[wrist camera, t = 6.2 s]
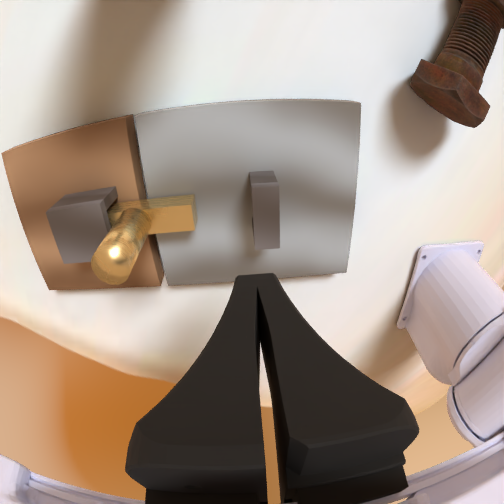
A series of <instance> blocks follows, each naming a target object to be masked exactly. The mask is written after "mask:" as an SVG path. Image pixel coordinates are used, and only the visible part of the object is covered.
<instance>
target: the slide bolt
mask: <svg viewBox="0 0 504 504" xmlns="http://www.w3.org/2000/svg"><path fill="white" fill-rule="evenodd" d="M106 211H107V214H108V218H109V222H110V225H111V229H110V231H109V232H108V233H107V235H106V236H105V238H104V239H103V241H102V242H101V244H100V245H99V247H98V248H97V250H96V251H95V253H94V255H93V256H92V259H91V267H92V270H93V272H94V274H95V275H96V276H97V277H98V278H99V279H100V280H102V281H103V282H105V283H108V284H111V285H119V284H122V283H124V282H125V281H126V280H127V279H128V277H129V275H130V273H131V271H132V268H133V266H134V264H135V262H136V259H137V257H138V255H139V253H140V251H141V248H142V246H143V244H144V242H145V240H146V238H147V236H148V234H158V233H170V232H181V231H194V230H195V228H196V224H197V219H198V216H197V209H196V202H195V195H194V194H191V195H181V196H171V197H162V198H153V199H144V200H136V201H128V202H120V203H113V204H111V206H110V207H109V208H108V209H107V210H106Z"/></svg>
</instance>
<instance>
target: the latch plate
mask: <svg viewBox="0 0 504 504" xmlns="http://www.w3.org/2000/svg"><path fill="white" fill-rule="evenodd" d="M360 119H361V103H359V102H355V101H348V100H327V99H265V100H244V101H230V102H218V103H207V104H198V105H189V106H182V107H174V108H167V109H161V110H155V111H149V112H143V113H140V114H138V115H135V122H136V129H137V136H138V143H139V149H140V155H141V161H142V167H143V173H144V178H145V184H146V189H147V194H148V199H153V198H162V197H171V196H181V195H191V194H194V195H195V202H196V209H197V216H198V219H197V224H196V228H195V230H194V231H181V232H170V233H158V234H156V237H157V242H158V246H159V250H160V254H161V259H162V263H163V267H164V271H165V275H166V279H167V283H168V285H186V284H203V283H219V282H234V281H235V278H236V277H237V276H238V275H250V274H264V273H274V274H275V275H276V276H277V278H288V277H300V276H312V275H324V274H335V273H346V272H347V265H348V258H349V251H350V243H351V235H352V227H353V218H354V209H355V199H356V187H357V175H358V161H359V144H360ZM2 157H3V162H4V166H5V170H6V174H7V178H8V181H9V185H10V188H11V192H12V195H13V199H14V202H15V205H16V208H17V211H18V214H19V217H20V220H21V223H22V226H23V229H24V231H25V234H26V237H27V239H28V242H29V245H30V247H31V250H32V252H33V255H34V257H35V259H36V262H37V264H38V266H39V269H40V271H41V273H42V276H43V278H44V280H45V282H46V284H47V286H48V289H49V290H71V289H101V288H126V287H148V286H161V282H162V279H163V276H164V272H163V268H162V264H161V260H160V256H159V251H158V247H157V243H156V239H155V234H148V236H147V238H146V240H145V242H144V244H143V246H142V248H141V251H140V253H139V255H138V257H137V259H136V262H135V264H134V266H133V268H132V271H131V273H130V275H129V277H128V279H127V280H126V281H125V282H124V283H122V284H119V285H111V284H108V283H105V282H103V281H102V280H100V279H99V278H98V277H97V276H96V275H95V274H94V272H93V270H92V267H91V259H92V256H93V255H94V253H95V251H96V250H97V248H98V247H99V245H100V244H101V242H102V241H103V239H104V238H105V236H106V235H107V233H108V232H109V231H110V229H111V225H110V222H109V218H108V214H107V211H106V210H107V209H108V208H109V207H110V206H111V204H113V203H120V202H128V201H136V200H144V199H147V196H146V191H145V186H144V181H143V175H142V169H141V164H140V158H139V152H138V145H137V139H136V132H135V125H134V118H133V114H132V115H127V116H122V117H117V118H113V119H108V120H104V121H100V122H95V123H91V124H87V125H83V126H80V127H76V128H72V129H69V130H65V131H62V132H58V133H55V134H52V135H48V136H45V137H42V138H39V139H36V140H33V141H30V142H27V143H24V144H21V145H18V146H16V147H13V148H11V149H9V150H7V151H5V152H3V153H2Z"/></svg>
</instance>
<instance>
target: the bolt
mask: <svg viewBox="0 0 504 504" xmlns="http://www.w3.org/2000/svg"><path fill="white" fill-rule="evenodd" d="M459 1H460V3H461V4H462V6H461V8H460V11H459V14H458V16H457V18H456V21H455V23H454V25H453V27H452V30H451V31H450V34H449V37H448V39H447V41H446V44H445V45H444V47H443V50H442V52H441V53H440V54H439V55H438V57H437V59H436V61H435V63H431V62H428V61H425V60H422V59H421V61H420V63H419V65H418V67H417V69H416V71H415V73H414V75H413V77H412V80H411V83H410V86H411V87H412V89H413V90H414V92H415V93H416V94H417V95H418V96H419V97H420V98H422V99H423V100H424V101H425V102H426V103H427V104H428V105H430V106H431V107H433V108H434V109H435V110H437V111H438V112H440V113H441V114H443V115H444V116H446V117H447V118H449V119H451V120H452V121H454V122H457V123H459V124H462V125H465V126H468V127H473V128H475V127H477V126H478V125H480V124H481V123H482V122H483V121H484V119H485V117H486V115H487V113H488V110H489V108H490V105H489V104H488V103H487V101H486V100H485V99H484V98H483V97H482V96H481V95H480V93H479V90H480V87H481V85H482V82H483V80H482V79H483V76H484V73H485V70H486V68H487V66H488V63H489V60H490V59H491V56H492V53H493V51H494V47H495V45H496V42H497V39H498V36H499V33H500V30H501V28H502V29H504V0H459Z"/></svg>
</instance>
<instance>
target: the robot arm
mask: <svg viewBox="0 0 504 504" xmlns="http://www.w3.org/2000/svg"><path fill="white" fill-rule="evenodd" d="M483 247H484V244H483V242H482V241H473V242H461V243H449V244H437V245H425V246H422V247H421V248H420V249H419V252H418V256H417V260H416V264H415V267H414V271H413V274H412V278H411V281H410V285H409V288H408V291H407V294H406V298H405V301H404V304H403V307H402V310H401V313H400V316H399V319H398V322H397V327H398V329H403V328H406V329H407V331H408V333H409V335H410V337H411V339H412V341H413V343H414V345H415V346H416V348H417V350H418V352H419V354H420V356H421V358H422V360H423V362H424V364H425V366H426V368H427V370H428V371H429V373H430V374H431V375H432V376H433V377H434V378H435V379H437V380H438V381H440V382H442V383H444V384H448V385H451V386H450V388H449V389H448V392H447V409H448V414H449V417H450V419H451V422H452V424H453V425H454V427H455V429H456V430H457V431H458V433H459V434H460V435H461V436H462V437H463V438H464V439H465V440H467V441H469V442H470V443H471V444H472V445H473V446H474V447H475V448H473V449H471V450H469V451H467V452H465V453H463V454H461V455H458V456H456V457H454V458H452V459H450V460H447V461H445V462H443V463H440V464H438V465H436V466H433V467H431V468H428V469H426V470H423V471H420V472H418V473H415V474H412V475H409V476H406V475H405V472H404V469H403V465H404V464H405V462H406V460H405V457H404V454H403V451H404V450H405V449H406V448H407V447H408V446H409V445H410V444H411V443H412V442H413V441H414V440H415V438H416V437H417V435H418V433H419V427H418V424H417V421H416V419H415V416H414V414H413V412H412V410H411V409H410V407H409V405H408V403H407V402H406V400H405V399H404V398H402V397H401V396H399V395H397V394H395V393H393V392H392V391H390V390H388V389H386V388H384V387H383V386H381V385H379V384H378V383H376V382H375V381H373V380H372V379H370V378H369V377H367V376H366V375H364V374H363V373H362V372H360V371H359V370H358V369H356V368H355V367H354V366H353V365H351V364H350V363H349V362H347V361H346V360H345V359H344V358H342V357H341V356H340V355H339V354H338V353H337V352H336V351H334V350H333V349H332V348H331V347H330V346H329V345H328V344H327V343H326V342H325V341H324V340H323V339H322V338H321V337H320V336H319V335H318V334H317V333H316V332H315V330H314V329H313V328H312V327H311V326H310V325H309V324H308V322H307V321H306V320H305V319H304V318H303V316H302V315H301V314H300V312H299V311H298V310H297V308H296V307H295V306H294V304H293V303H292V302H291V300H290V299H289V297H288V296H287V294H286V292H285V291H284V289H283V288H282V286H281V284H280V282H279V280H278V278H277V276H276V275H275V274H274V273H264V274H250V275H238V276H237V277H236V278H235V283H234V287H233V290H232V293H231V296H230V299H229V301H228V304H227V306H226V308H225V311H224V313H223V315H222V317H221V319H220V321H219V323H218V325H217V327H216V329H215V331H214V333H213V335H212V336H211V338H210V340H209V341H208V343H207V345H206V346H205V348H204V349H203V351H202V352H201V354H200V355H199V357H198V358H197V359H196V361H195V362H194V363H193V365H192V366H191V367H190V369H189V370H188V371H187V373H186V374H185V375H184V376H183V378H182V379H181V380H180V381H179V382H178V383H177V384H176V386H174V388H173V389H172V390H171V391H170V392H169V393H168V394H167V395H166V397H164V398H163V399H162V400H161V401H160V402H159V403H158V404H157V405H156V406H155V407H154V408H153V409H152V410H150V411H149V412H148V413H147V414H146V415H145V416H144V417H143V418H141V419H140V420H139V421H138V422H137V423H136V425H135V428H134V430H133V433H132V437H131V440H130V442H129V446H128V452H127V459H126V466H125V471H126V473H127V474H128V475H129V476H130V477H131V478H132V479H134V480H135V481H137V482H138V483H140V484H141V485H142V486H144V487H145V488H146V498H145V499H146V500H145V501H141V500H135V499H129V498H123V497H118V496H113V495H108V494H104V493H100V492H95V491H91V490H87V489H83V488H80V487H76V486H72V485H69V484H66V483H63V482H59V481H56V480H53V479H50V478H47V477H45V476H42V475H39V474H36V473H34V472H31V471H30V470H29V469H28V468H26V467H25V466H23V465H21V464H20V463H18V462H16V461H14V460H12V459H10V458H8V457H5V456H3V455H1V454H0V504H268V500H267V481H266V466H265V455H264V454H265V453H264V441H263V430H262V419H261V407H260V395H259V375H260V343H261V348H262V353H263V358H264V363H265V368H266V373H267V378H268V383H269V388H270V393H271V399H272V408H273V418H274V429H275V439H276V450H277V462H278V472H279V485H280V498H281V504H388V503H392V502H394V501H398V500H401V499H403V498H406V497H408V498H407V499H406V501H403V502H401V503H398V504H504V291H503V290H502V289H501V288H500V287H499V285H498V284H497V283H496V282H495V281H494V280H493V279H492V277H491V276H490V275H489V274H488V273H487V272H486V271H485V270H484V269H483V268H482V267H481V265H480V264H479V263H478V262H479V259H480V256H481V253H482V250H483ZM423 256H424V257H423ZM422 257H423V258H422Z"/></svg>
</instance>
